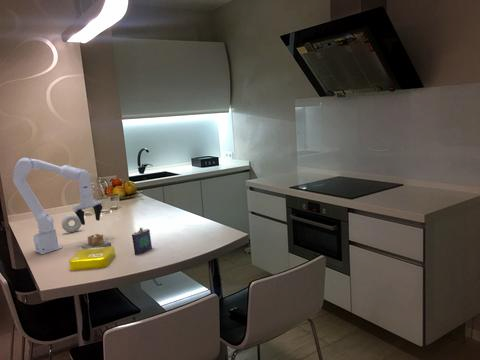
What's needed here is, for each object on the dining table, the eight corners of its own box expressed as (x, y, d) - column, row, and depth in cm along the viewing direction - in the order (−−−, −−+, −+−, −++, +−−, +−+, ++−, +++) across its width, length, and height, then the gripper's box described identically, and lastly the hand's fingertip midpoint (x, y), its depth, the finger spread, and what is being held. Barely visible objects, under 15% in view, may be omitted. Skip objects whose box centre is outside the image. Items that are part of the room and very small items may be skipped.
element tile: (116, 255, 178) (115, 244, 177) (106, 268, 163) (104, 257, 162) (82, 258, 177) (80, 247, 177) (68, 272, 163) (66, 260, 162)
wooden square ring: (94, 246, 185) (92, 238, 184) (88, 245, 188) (87, 236, 188) (104, 243, 189) (102, 235, 188) (98, 241, 192) (97, 233, 191)
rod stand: (91, 252, 183) (89, 239, 182) (82, 249, 188) (80, 237, 187) (111, 245, 190) (109, 233, 189) (101, 242, 195) (100, 231, 194)
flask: (149, 247, 183) (146, 224, 181) (153, 248, 181) (151, 225, 179) (133, 254, 176) (129, 230, 174) (137, 255, 174) (134, 231, 172)
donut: (63, 235, 214) (60, 216, 212) (62, 233, 216) (59, 215, 215) (83, 230, 219) (80, 212, 217) (82, 229, 221) (79, 211, 220)
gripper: (76, 199, 187) (80, 227, 190) (104, 192, 198) (108, 219, 200) (68, 197, 192) (73, 225, 194) (97, 191, 202) (100, 217, 205)
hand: (90, 222), depth 198 cm, fingers open, 7 cm apart
